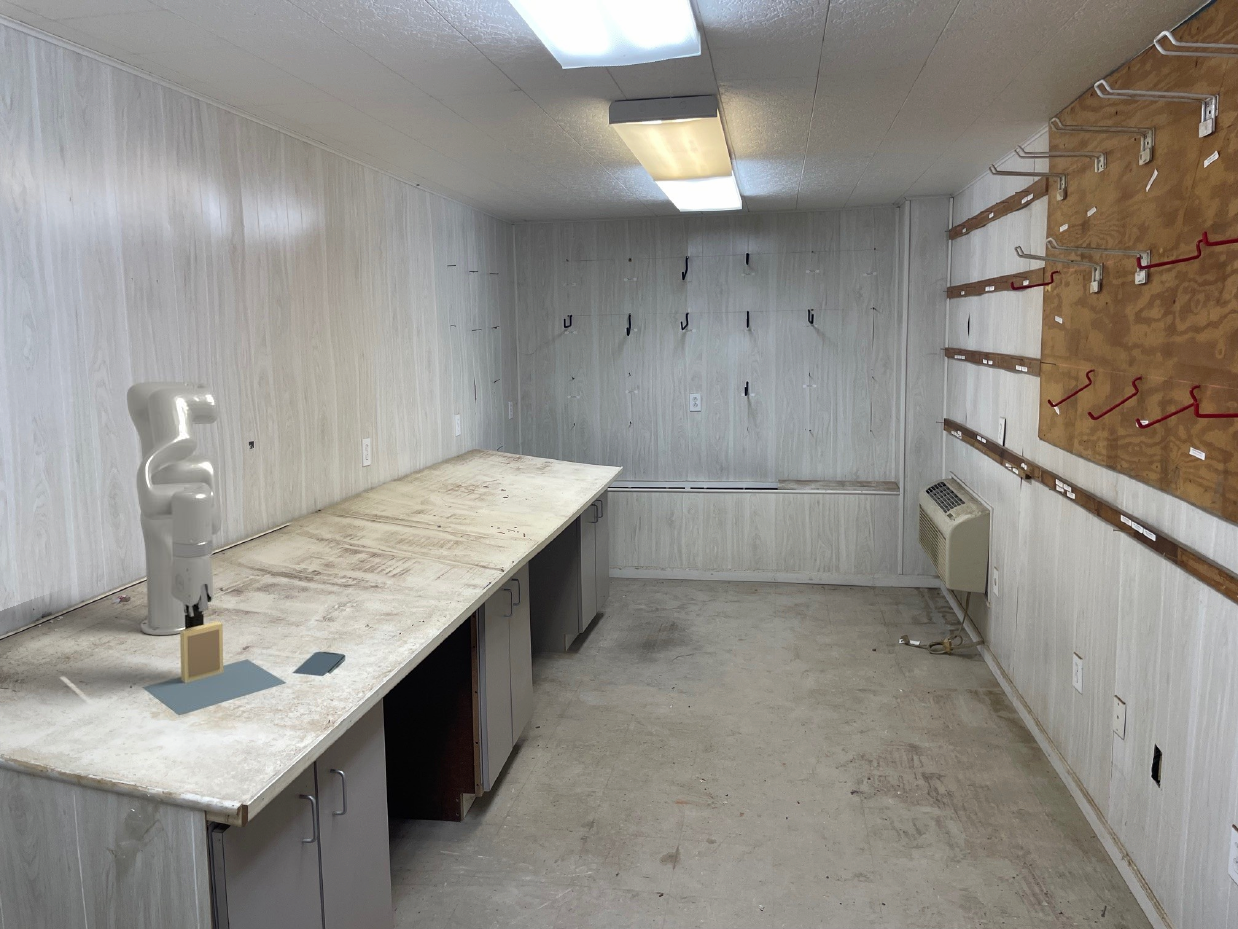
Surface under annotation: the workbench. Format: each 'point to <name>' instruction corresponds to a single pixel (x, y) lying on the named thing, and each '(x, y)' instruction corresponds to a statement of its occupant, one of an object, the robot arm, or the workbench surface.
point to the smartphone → (320, 664)
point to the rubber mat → (214, 687)
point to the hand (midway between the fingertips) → (194, 631)
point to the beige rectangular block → (201, 651)
